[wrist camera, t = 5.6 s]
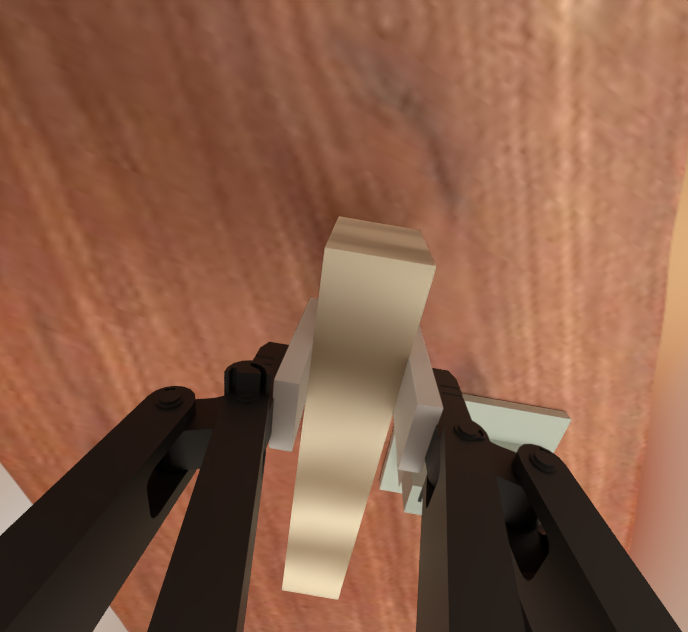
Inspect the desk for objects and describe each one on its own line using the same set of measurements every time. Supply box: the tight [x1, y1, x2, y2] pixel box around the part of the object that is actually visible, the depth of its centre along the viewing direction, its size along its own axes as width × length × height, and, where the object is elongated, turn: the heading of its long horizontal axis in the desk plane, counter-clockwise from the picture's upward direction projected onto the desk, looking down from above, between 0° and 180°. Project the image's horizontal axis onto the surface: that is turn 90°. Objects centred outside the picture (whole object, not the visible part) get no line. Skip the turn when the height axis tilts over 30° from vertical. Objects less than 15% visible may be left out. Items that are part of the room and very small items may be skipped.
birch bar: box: [282, 216, 436, 600], centre depth 18 cm, size 22×4×4 cm, turn 171°
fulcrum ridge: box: [380, 394, 572, 515], centre depth 29 cm, size 12×14×6 cm
